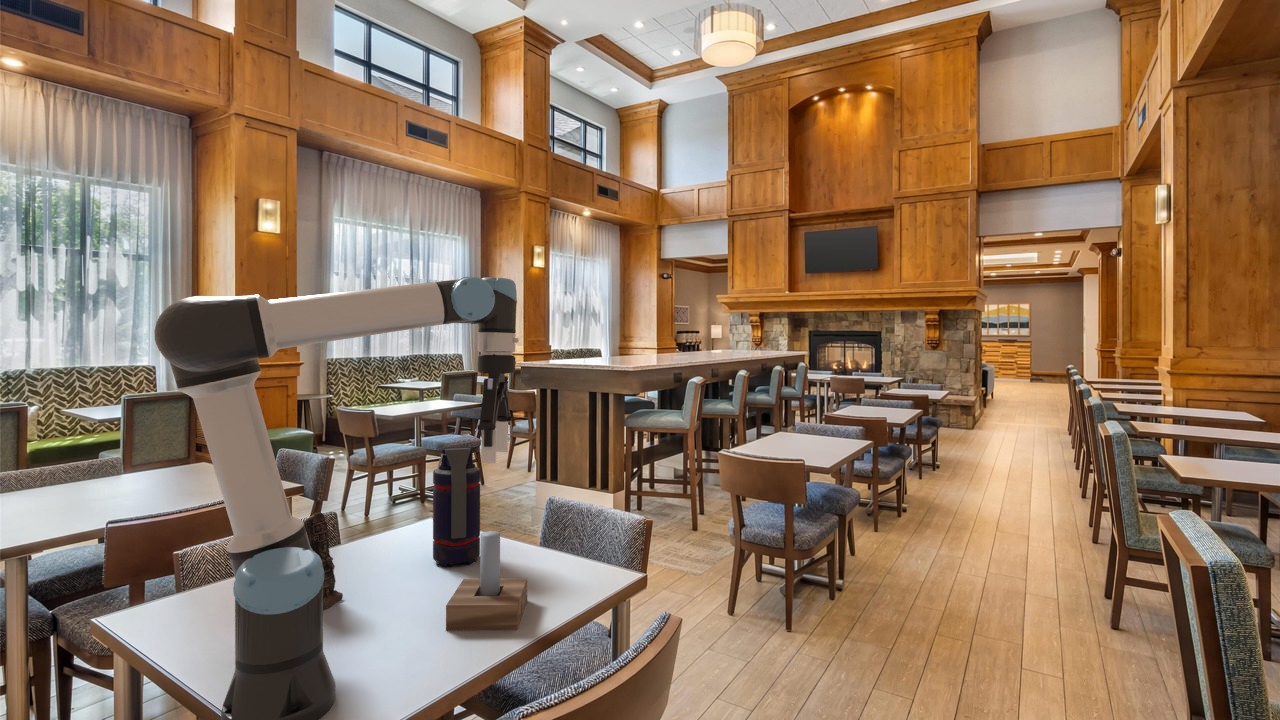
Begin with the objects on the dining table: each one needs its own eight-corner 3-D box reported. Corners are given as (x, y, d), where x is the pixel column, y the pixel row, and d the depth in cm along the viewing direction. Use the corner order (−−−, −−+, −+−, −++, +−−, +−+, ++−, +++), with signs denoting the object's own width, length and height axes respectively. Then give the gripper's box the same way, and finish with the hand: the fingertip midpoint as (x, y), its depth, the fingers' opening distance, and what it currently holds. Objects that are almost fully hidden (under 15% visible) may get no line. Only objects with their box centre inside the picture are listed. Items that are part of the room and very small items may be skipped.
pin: (497, 613, 125) (498, 537, 125) (478, 613, 125) (478, 537, 125) (501, 605, 129) (501, 531, 129) (482, 605, 129) (482, 531, 129)
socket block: (516, 629, 121) (517, 604, 121) (445, 630, 120) (446, 605, 120) (527, 600, 135) (527, 578, 134) (463, 600, 134) (463, 578, 134)
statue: (321, 612, 128) (321, 518, 127) (292, 609, 129) (292, 515, 129) (344, 599, 134) (344, 509, 134) (316, 596, 136) (315, 507, 136)
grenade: (432, 555, 163) (432, 444, 163) (477, 550, 167) (478, 442, 167) (433, 573, 150) (434, 453, 150) (483, 567, 154) (483, 450, 154)
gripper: (505, 354, 112) (503, 468, 112) (523, 354, 137) (522, 447, 137) (464, 353, 112) (462, 468, 112) (490, 353, 137) (488, 447, 137)
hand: (495, 457), depth 125 cm, fingers open, 13 cm apart
